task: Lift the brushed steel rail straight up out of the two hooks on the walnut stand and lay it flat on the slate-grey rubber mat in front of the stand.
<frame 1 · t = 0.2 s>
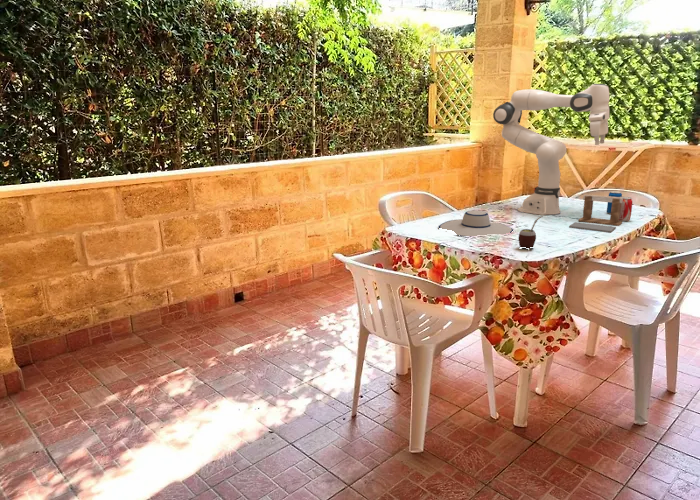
hand: (599, 144, 265), 38 cm above the table, tool pointing down, fingers open, 8 cm apart
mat: (592, 228, 253), on the table
soda can: (622, 220, 267), on the table
mate gourd: (527, 249, 221), on the table
rail: (602, 201, 262), point 11 cm above the table, touching rack
rack: (600, 222, 265), on the table
sun hat: (475, 230, 258), on the table
beverage can: (612, 214, 283), on the table
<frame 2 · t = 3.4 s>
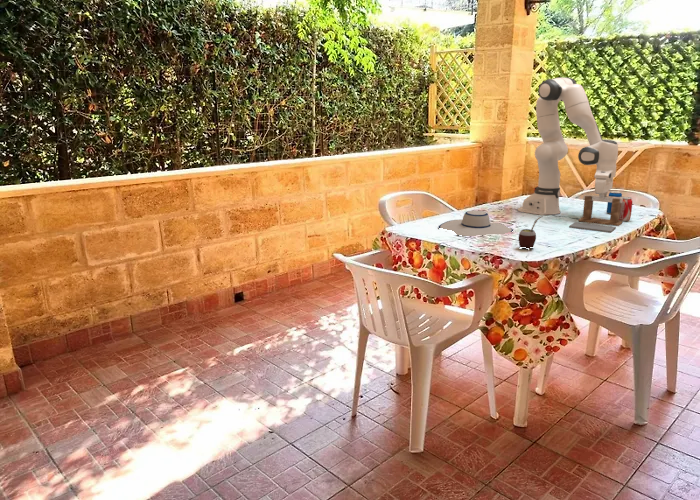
hand: (602, 200, 261), 11 cm above the table, tool pointing down, fingers closed on rail, 3 cm apart
rail: (602, 201, 262), point 11 cm above the table, touching gripper, rack
everything else where it was.
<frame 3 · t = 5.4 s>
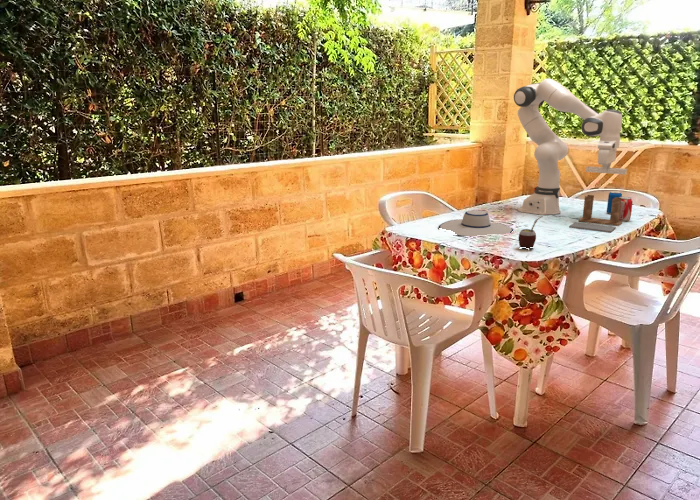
hand: (605, 172, 258), 26 cm above the table, tool pointing down, fingers closed on rail, 3 cm apart
rail: (605, 172, 258), point 25 cm above the table, touching gripper
everything else where it was.
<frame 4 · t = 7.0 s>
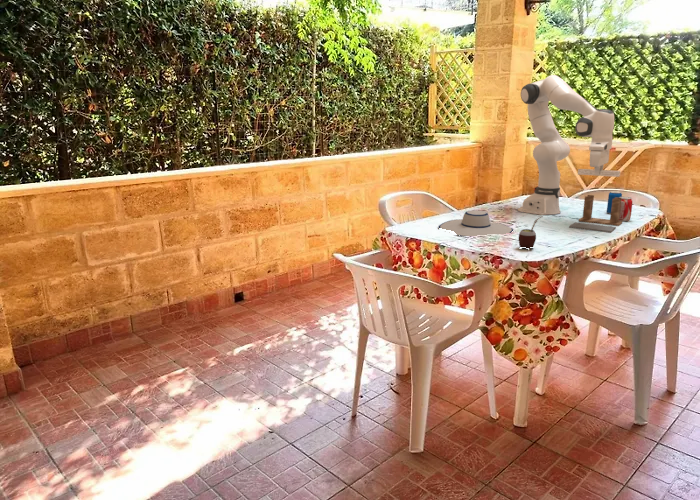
hand: (598, 174, 246), 26 cm above the table, tool pointing down, fingers closed on rail, 3 cm apart
rail: (598, 175, 246), point 26 cm above the table, touching gripper
everything else where it was.
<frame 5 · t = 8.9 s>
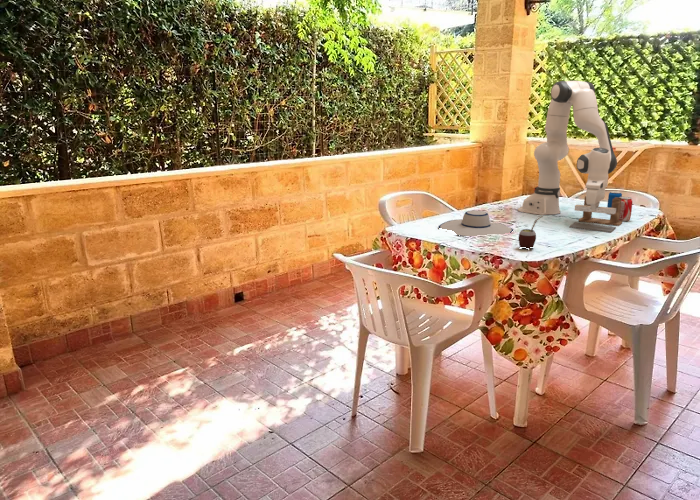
hand: (594, 211, 251), 8 cm above the table, tool pointing down, fingers closed on rail, 3 cm apart
rail: (594, 211, 251), point 8 cm above the table, touching gripper
everything else where it was.
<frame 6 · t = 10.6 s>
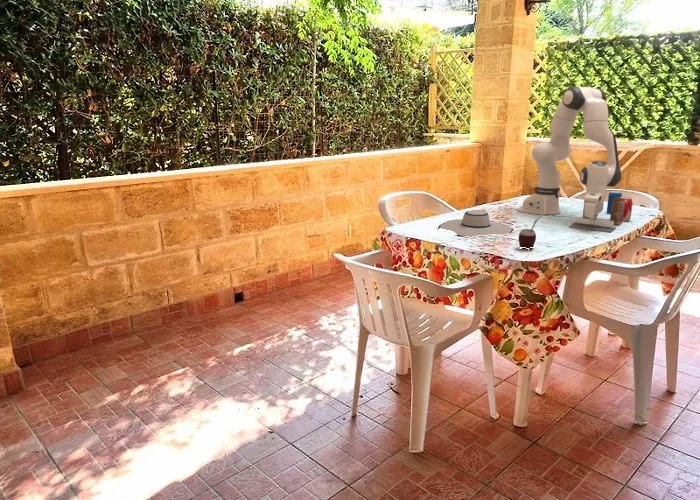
hand: (592, 223, 253), 2 cm above the table, tool pointing down, fingers closed on rail, 3 cm apart
rail: (593, 223, 253), point 2 cm above the table, touching gripper
everything else where it was.
when the fingers open (2 cm above the table, at t = 10.8 s): rail drops 1 cm, resting on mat.
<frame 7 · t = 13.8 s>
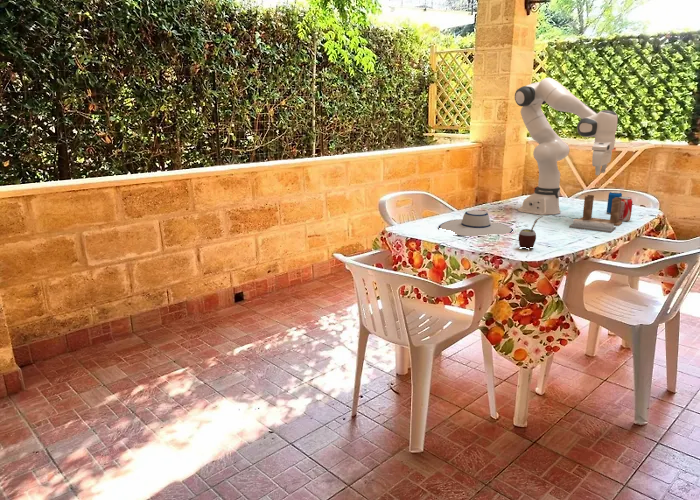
hand: (600, 173, 254), 25 cm above the table, tool pointing down, fingers open, 8 cm apart
rail: (592, 226, 253), point 1 cm above the table, touching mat
everything else where it was.
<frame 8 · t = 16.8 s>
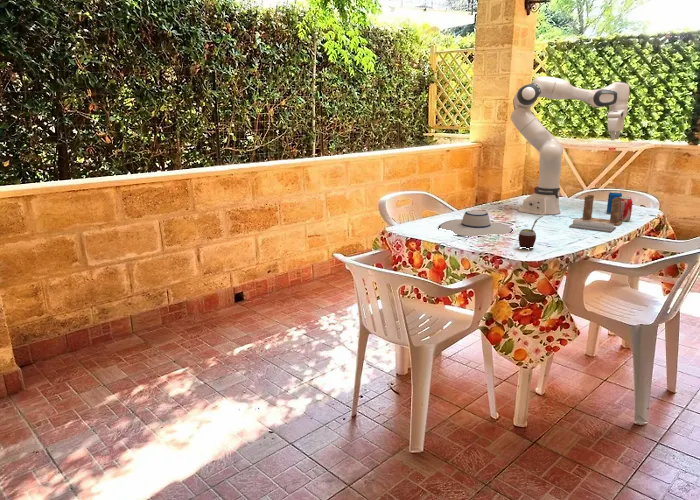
hand: (614, 139, 280), 39 cm above the table, tool pointing down, fingers open, 8 cm apart
nothing on the table moved.
at the end: rail inside the target area on the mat (0.1 cm from its centre), point 0.8 cm above the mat's base; rail tilted 0°; the gripper is holding nothing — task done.
